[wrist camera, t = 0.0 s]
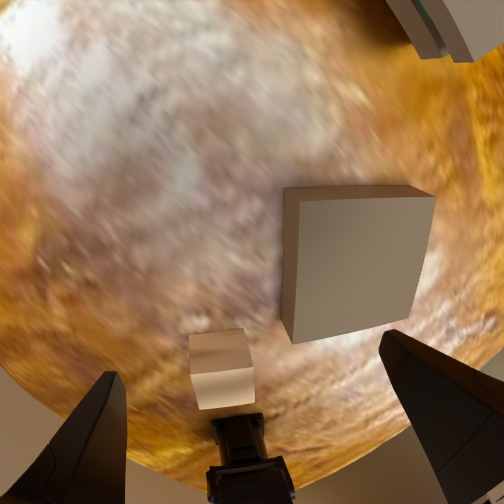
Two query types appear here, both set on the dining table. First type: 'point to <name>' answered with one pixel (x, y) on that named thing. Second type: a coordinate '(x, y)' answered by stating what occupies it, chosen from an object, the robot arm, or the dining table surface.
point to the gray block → (351, 257)
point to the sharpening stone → (451, 27)
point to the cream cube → (221, 369)
